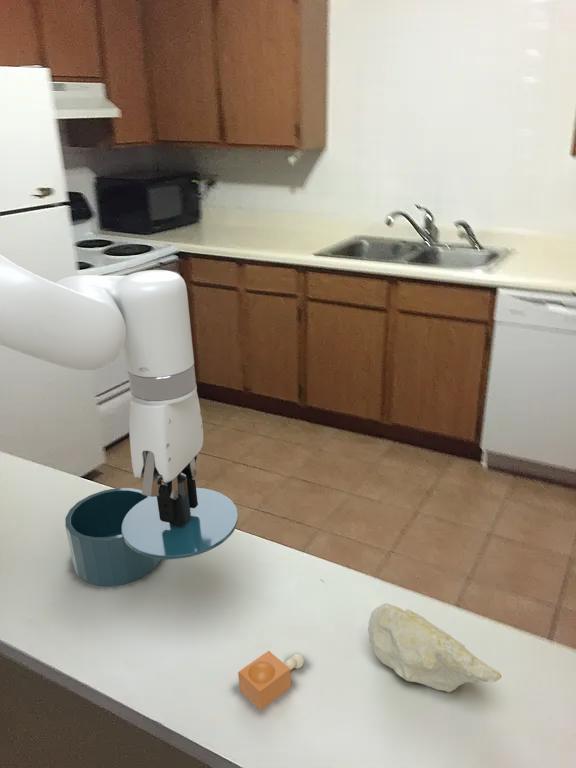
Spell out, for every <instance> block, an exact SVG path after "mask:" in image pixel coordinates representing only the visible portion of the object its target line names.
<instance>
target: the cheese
mask: <svg viewBox="0 0 576 768" xmlns="http://www.w3.org/2000/svg"><path fill="white" fill-rule="evenodd" d="M367 631H368V641H369V644H370V645H371V649H372V651H373V652H374V654H375V655H376V657H377V659H378V660H379V661H380V662H381V663H382V664H383V665H384V666H385V665H386V666H387V667H389V668H390V669H393V671H394V672H395V673H396V674H397V675H398V676H399V677H400V678H402V679H403V680H405V681H406V682H411V683H418V684H421V685H423V686H426V687H428V688H432V689H434V690H436V691H442V692H446V693H451V692H453V691H455V690H457V689H458V687H460V686H461V685H464V684H466V683H471V684H473V683H477V682H479V681H480V682H483V683H489V684H492V683H495V682H497V681H499V680H500V679H501V678H502V674H501V673H500V671H498V670H497V669H495V668H493V667H492V666H489V665H488V664H487V663H486V662H484V661H483V660H481V659H479V658H478V657H477V656H476V655H474V654H473V653H472V652H471V651H470V650H468V649H467V648H466V646H465V645H464V644H463V643H461V642H459V640H457V639H455V638H454V637H453V636H451V635H450V634H449V633H448V632H446V631H444V630H443V629H441V628H439V627H438V626H436V625H434V624H433V623H431V622H430V621H428V620H427V619H426V618H425V617H423V616H422V615H420V614H418V613H417V612H415V611H412V610H410V609H404V610H403V609H402V608H400V607H399V606H396V605H393V604H390V603H386V602H385V603H383V604H381V605H379V606H377V607H375V608H374V609H373V610H372V612H371V613H370V617H369V621H368V626H367Z"/></svg>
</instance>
